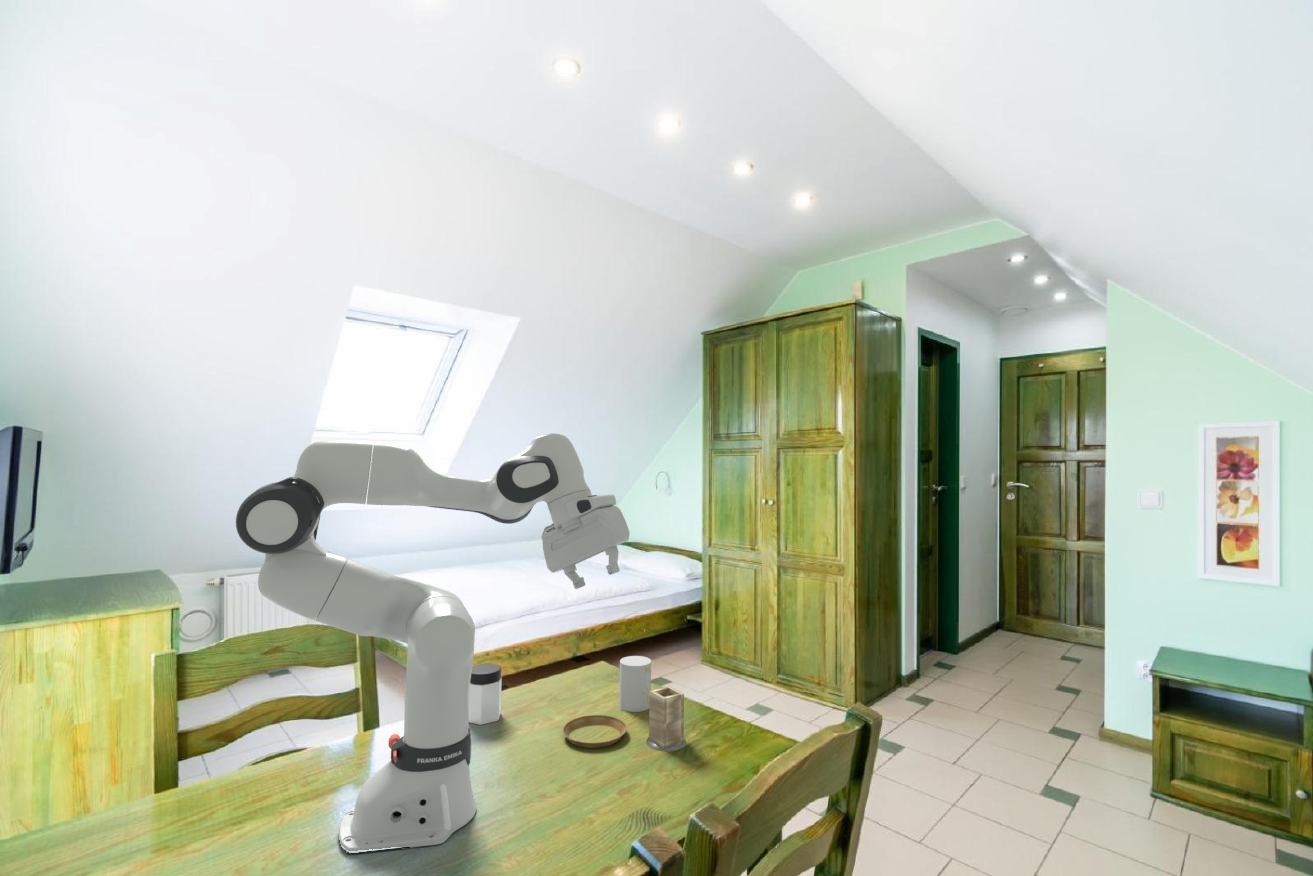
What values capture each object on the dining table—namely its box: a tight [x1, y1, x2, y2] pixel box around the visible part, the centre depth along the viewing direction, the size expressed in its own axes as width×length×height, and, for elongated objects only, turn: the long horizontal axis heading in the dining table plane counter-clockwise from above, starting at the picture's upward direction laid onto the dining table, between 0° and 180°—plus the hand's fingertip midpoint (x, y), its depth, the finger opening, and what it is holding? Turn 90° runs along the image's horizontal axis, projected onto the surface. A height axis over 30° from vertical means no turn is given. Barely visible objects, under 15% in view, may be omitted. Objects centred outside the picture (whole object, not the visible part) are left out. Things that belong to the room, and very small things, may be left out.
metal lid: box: [645, 737, 687, 752], centre depth 142 cm, size 9×9×4 cm
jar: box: [469, 662, 503, 726], centre depth 155 cm, size 9×8×12 cm
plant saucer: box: [562, 714, 628, 749], centre depth 144 cm, size 15×15×3 cm
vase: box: [648, 686, 685, 750], centre depth 142 cm, size 7×6×11 cm
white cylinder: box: [618, 655, 652, 713], centre depth 162 cm, size 8×8×12 cm
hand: (597, 580), depth 119 cm, fingers open, 8 cm apart
